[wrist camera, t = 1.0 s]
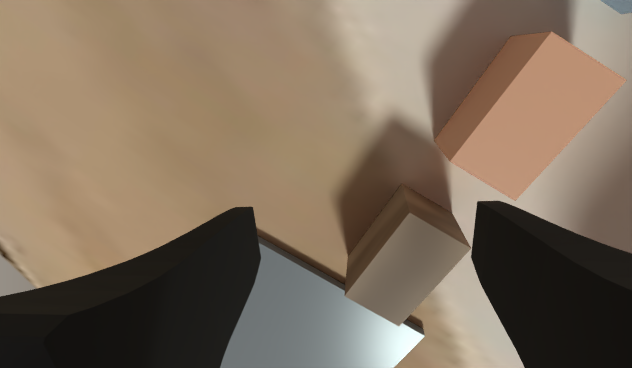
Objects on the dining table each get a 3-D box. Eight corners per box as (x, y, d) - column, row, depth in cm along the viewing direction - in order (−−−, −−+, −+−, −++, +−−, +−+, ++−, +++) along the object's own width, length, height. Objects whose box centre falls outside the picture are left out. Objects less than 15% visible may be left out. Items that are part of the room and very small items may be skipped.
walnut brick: (451, 212, 20) (471, 248, 16) (393, 281, 22) (399, 326, 19) (401, 182, 20) (409, 212, 16) (348, 255, 22) (344, 296, 18)
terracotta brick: (569, 74, 17) (626, 79, 13) (486, 172, 19) (515, 200, 15) (509, 36, 16) (551, 31, 13) (433, 139, 19) (449, 161, 15)
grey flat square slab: (423, 329, 23) (424, 336, 23) (334, 420, 28) (333, 428, 27) (257, 235, 22) (254, 240, 22) (193, 346, 27) (189, 352, 26)
